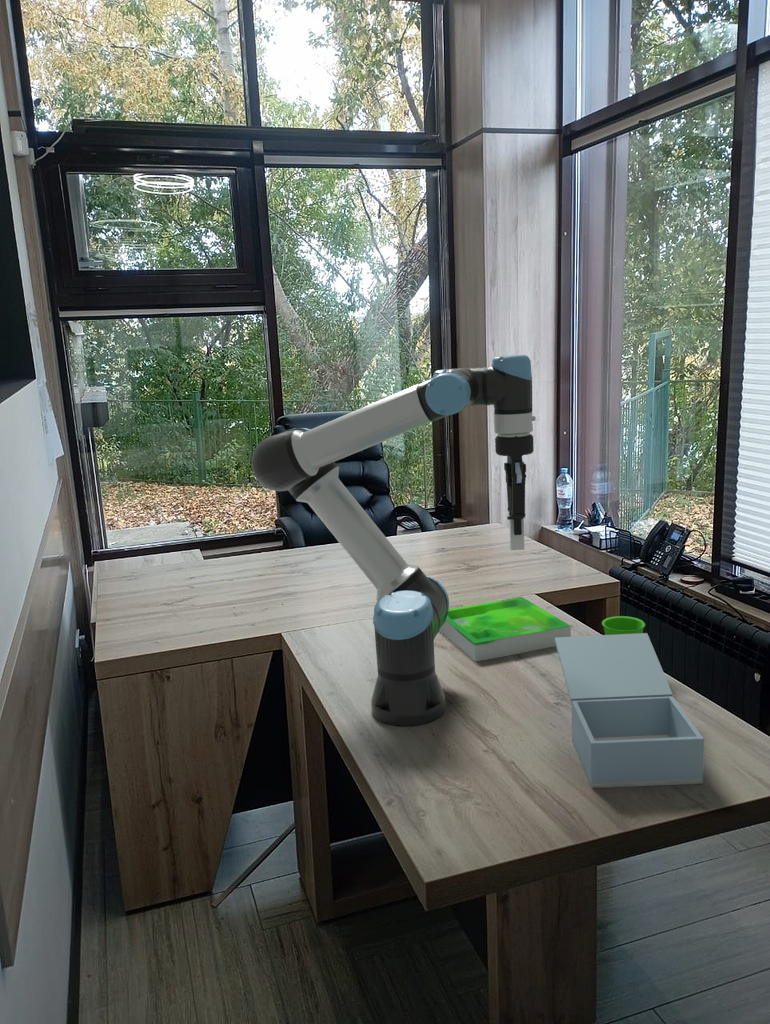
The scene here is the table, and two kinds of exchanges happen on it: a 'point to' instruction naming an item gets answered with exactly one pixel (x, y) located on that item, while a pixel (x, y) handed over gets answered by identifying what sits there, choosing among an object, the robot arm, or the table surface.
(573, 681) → the lid
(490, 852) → the table surface
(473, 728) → the table surface
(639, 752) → the box
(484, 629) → the tray
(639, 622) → the cup
